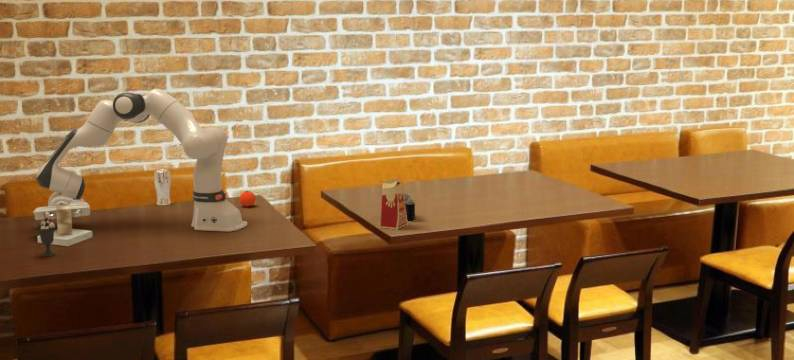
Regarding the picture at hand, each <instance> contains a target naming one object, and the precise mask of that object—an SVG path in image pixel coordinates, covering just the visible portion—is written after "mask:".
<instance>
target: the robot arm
mask: <svg viewBox="0 0 794 360" xmlns="http://www.w3.org/2000/svg"><path fill="white" fill-rule="evenodd" d="M150 116H151V117H153V118H154V119H156V120H157V121H158V123H160V124H161V125H162V126H163V127H164V128H165V129H167V130H168V131H169V132H171V133H172V135H174V136H175V138H176V139H177V140H178V141H179V142H180V144H181V145H182V148H183V151H184V154H185V155H186V156H187V157H188V158H190V159H192V160H193V159H194V160H196V163H195V166H194V169H193V172H192V173H193V191H192V199H193V200H192V201H193V214H192V221H191V224H190V225H191V227H192V228H194V229H193V230H195V231H206V232H207V231H209V232H210V231H211V232H212V231H213V232H233V231H234V232H235V231H239V230H242V229H243V228H246V227H247V226H248V221H245V220H243V217H242V214H241V211H240V209H239V208H238V207H236V206H234V204H232V203H231V202H230V201H229V200H227V196H228V195H229V194H228V193H229V192H224V190H223V183H222V182H223V181H222V175H223V174H222V171H223V170H222V169H223V162H224V155H225V149H226V146H227V145H228V136H227V133H226V131H225V130H224V129H222V127H221V128H220V127H217V126H207V127H205V128H203V127H202V126H201V125H200V124H199V123H198V122H197V120H196V118H195V116H194V114H193V112H192V111H190V110H189V109H188V108H187V107H185V106H184V105H183V104H182V103H181V102H180V101H179V100H178V99H176V98H175V97H173V96H172V95H170V94H168V92H165V90H162V89H160V88H153V89H151V90H149V91H148V92H147V93H146V94H145V95H144V96H143V95H142V94H140V93H133V92H128V91H127V92H121V93H119V94H118V95H116V96H115V98H114V99H113V100H110V99H102V100H99V102H98V103H97V104H96V105H95V106H94V108H93V109H92V111H91V112H90V114H89V116H88V117H87V119H86V121H85V123H84V124H83V125H82V126H80V127H79V128H75V129H72V130H71V131H70V132H69V133H68V134H67V135H66V136H65V137H64V138H63V140H62V141H61V142H60V144H59V145H58V146H57V147H56V149H55V150H54V151H53V153H52V154H51V156H50V157H48V159H47V161H46V162H45V163H43V164H42V166H41V167H40V168H39V169H38V171H37V173H36V176H35V179H36V180H35V181H36V182H37V184H38V186H39V187H41V188H44V189H47V190H50V191H52V192H53V193H52V194H50V196H49V197H48V201H47V205H48V206H38V207H36V208H34V210H33V211H32V212H33V214H34V220H36V221H42V220H44V219H45V218H48V220H49V219H52V220H54V219H55V220H57V217H56V207H63V206H70V208H71V219H73V218H79V217H86V216H87V217H88V216H90V215H91V206H90V205H89V202H86V201H85V199H84V198H82V196H83V194H84V192H85V189H86V183H85V182H86V180H85V179H84V176H81V175H79V174H77V173H74V172H73V171H70V170H67V169H65V168H63V167H60V166H59V165H60V163H61V162H62V161H63V159H64V158H65V157H66V155H67V154H68V152H69V151H70V150H72V149H74V148H77V147H80V148H83V147H84V148H100V147H103V146H104V145H105V146H106V144H108V142H109V141H110V139H111V138H112V135H113V133H114V132H115V129H116V127H117V126H118V124H119V123H120V122H122V121H123V122H130V123H134V124H135V123H137V124H139V123H143V122H145V121H147V120H148V119H149V117H150ZM50 213H52V214H51V215H49V214H50Z"/></svg>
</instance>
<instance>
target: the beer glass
mask: <svg viewBox="0 0 794 360" xmlns="http://www.w3.org/2000/svg"><path fill="white" fill-rule="evenodd" d="M153 174H154V175H153V179H154V180H153V181H154V182H153V183H154V188H155V192H156V205H157V206H169V205H171V202H172V201H171V198H170V194H171V193H170V192H171V183H172V182H171V172H170V169H167V168H164V169H163V168H162V169H156V170H154V173H153Z"/></svg>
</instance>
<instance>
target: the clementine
mask: <svg viewBox="0 0 794 360" xmlns="http://www.w3.org/2000/svg"><path fill="white" fill-rule="evenodd" d="M256 199H257V198H256V195H255V194H254V192H252V191H250V190H245V191H244V190H243V192H242V193H240V196H239V203H240V204H241V206H243V207H245V208H249V206H250V207H252V206H253V205H255V203H256Z"/></svg>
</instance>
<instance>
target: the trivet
mask: <svg viewBox="0 0 794 360" xmlns="http://www.w3.org/2000/svg"><path fill="white" fill-rule="evenodd" d="M72 233H73V234H72V235H62V236H59V235H58V230H57V229H54V239H53V242H52V243H51V244H50V245H54V246H61V247H69V246H72V245H76V244H78V243H82V242H83V241H86V240H88V239H92V238H93V230H87V229H77V228H72ZM36 237H37V243H38V244H43V243H42V241H41V238H40V235H37V236H36Z"/></svg>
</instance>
